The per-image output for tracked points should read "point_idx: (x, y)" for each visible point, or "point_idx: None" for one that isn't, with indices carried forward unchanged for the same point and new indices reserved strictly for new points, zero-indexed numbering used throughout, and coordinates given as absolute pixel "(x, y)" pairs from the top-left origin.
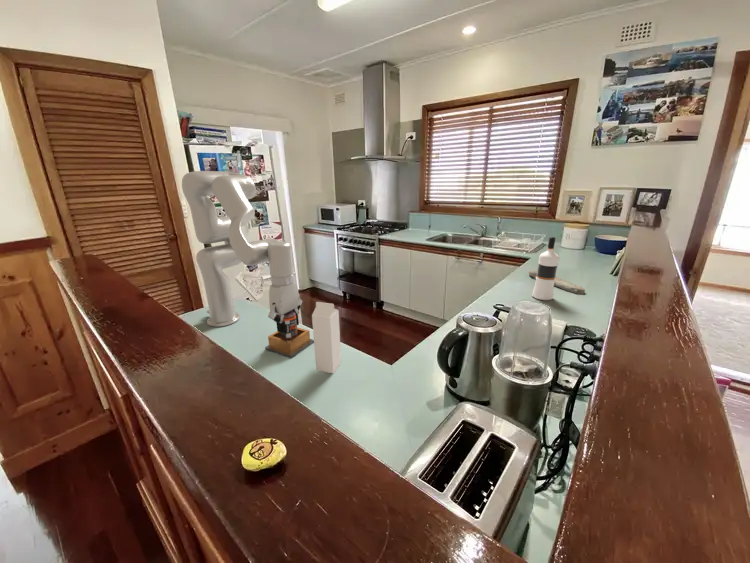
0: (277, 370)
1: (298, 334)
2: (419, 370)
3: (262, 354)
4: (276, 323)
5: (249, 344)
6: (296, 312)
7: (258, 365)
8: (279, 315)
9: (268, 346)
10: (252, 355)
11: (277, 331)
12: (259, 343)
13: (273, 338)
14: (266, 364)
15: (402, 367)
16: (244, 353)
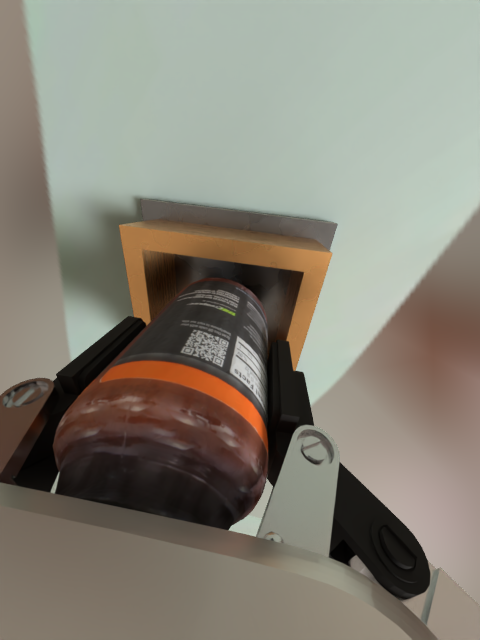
0: (93, 340)
1: (282, 329)
2: (250, 531)
3: (115, 217)
4: (80, 354)
5: (130, 2)
6: (268, 503)
7: (61, 263)
8: (55, 443)
9: (156, 212)
10: (77, 169)
11: (208, 240)
12: (178, 87)
13: (128, 277)
14: (86, 288)
15: (248, 519)
16: (53, 94)
